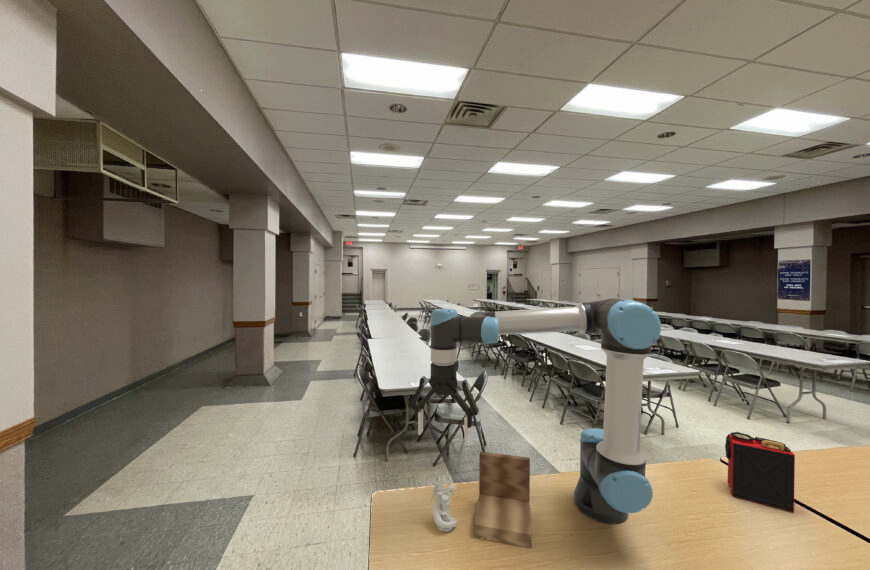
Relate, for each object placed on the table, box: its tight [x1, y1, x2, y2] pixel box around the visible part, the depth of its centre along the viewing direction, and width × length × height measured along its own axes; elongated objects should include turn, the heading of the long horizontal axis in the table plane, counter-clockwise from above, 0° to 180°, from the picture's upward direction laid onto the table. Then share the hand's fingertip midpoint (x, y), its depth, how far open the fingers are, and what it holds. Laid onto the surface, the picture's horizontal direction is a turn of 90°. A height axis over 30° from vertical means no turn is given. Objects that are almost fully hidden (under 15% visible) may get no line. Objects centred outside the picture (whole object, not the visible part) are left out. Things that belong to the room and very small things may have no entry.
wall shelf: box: [473, 451, 533, 549], centre depth 95 cm, size 15×15×16 cm
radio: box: [724, 431, 796, 513], centre depth 108 cm, size 16×10×20 cm, turn 58°
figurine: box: [429, 474, 458, 533], centre depth 96 cm, size 11×8×12 cm
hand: (443, 435), depth 96 cm, fingers open, 13 cm apart
